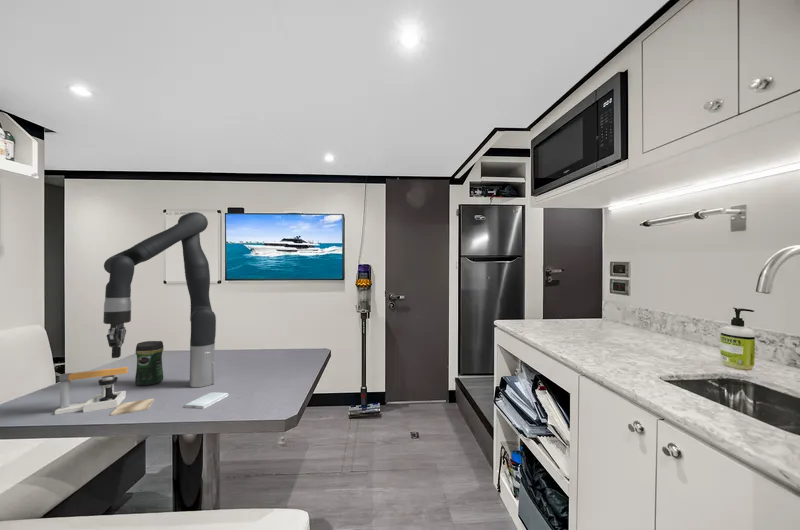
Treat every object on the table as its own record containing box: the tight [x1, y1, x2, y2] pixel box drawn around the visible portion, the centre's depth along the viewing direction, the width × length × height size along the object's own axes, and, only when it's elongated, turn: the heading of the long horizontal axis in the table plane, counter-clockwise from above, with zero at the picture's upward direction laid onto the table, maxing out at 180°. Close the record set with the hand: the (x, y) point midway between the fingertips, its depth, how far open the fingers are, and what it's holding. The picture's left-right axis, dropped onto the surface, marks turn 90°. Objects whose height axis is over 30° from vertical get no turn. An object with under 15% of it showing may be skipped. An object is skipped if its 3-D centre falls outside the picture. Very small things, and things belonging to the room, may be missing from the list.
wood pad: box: [110, 398, 155, 416], centre depth 114 cm, size 10×10×1 cm
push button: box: [98, 375, 118, 402], centre depth 118 cm, size 7×5×10 cm
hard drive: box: [183, 391, 229, 410], centre depth 119 cm, size 2×8×12 cm
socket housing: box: [54, 380, 127, 415], centre depth 116 cm, size 17×11×10 cm, turn 118°
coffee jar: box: [134, 340, 165, 386], centre depth 141 cm, size 10×8×19 cm
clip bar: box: [58, 366, 129, 382], centre depth 116 cm, size 18×3×2 cm, turn 118°
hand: (116, 357), depth 116 cm, fingers closed
